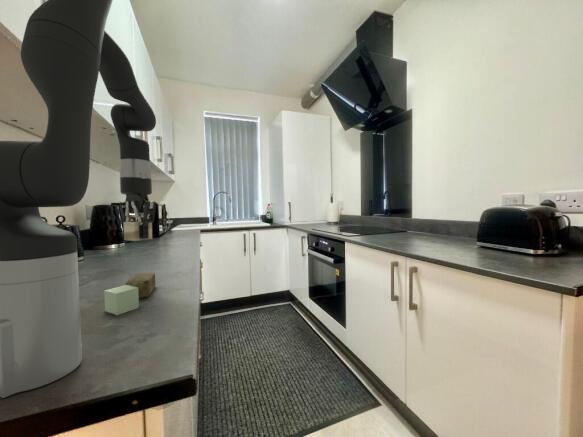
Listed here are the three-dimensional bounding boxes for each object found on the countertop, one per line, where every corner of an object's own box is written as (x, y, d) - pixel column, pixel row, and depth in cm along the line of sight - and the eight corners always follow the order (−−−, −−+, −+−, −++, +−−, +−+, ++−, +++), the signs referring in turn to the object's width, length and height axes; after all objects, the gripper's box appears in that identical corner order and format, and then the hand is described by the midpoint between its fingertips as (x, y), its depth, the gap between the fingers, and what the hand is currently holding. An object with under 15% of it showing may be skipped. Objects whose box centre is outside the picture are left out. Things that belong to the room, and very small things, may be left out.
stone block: (124, 301, 68) (123, 282, 67) (134, 288, 78) (134, 272, 78) (149, 298, 70) (148, 280, 69) (156, 286, 80) (155, 270, 80)
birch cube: (134, 241, 69) (133, 222, 69) (124, 240, 72) (123, 222, 72) (152, 239, 74) (151, 221, 74) (142, 238, 76) (141, 221, 76)
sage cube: (116, 315, 58) (115, 293, 58) (105, 311, 61) (104, 290, 60) (138, 308, 63) (138, 287, 62) (127, 304, 65) (126, 284, 65)
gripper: (107, 177, 72) (110, 238, 73) (137, 174, 65) (139, 240, 66) (134, 180, 79) (136, 235, 80) (164, 177, 72) (166, 237, 73)
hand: (138, 237), depth 73 cm, fingers closed on birch cube, 5 cm apart
